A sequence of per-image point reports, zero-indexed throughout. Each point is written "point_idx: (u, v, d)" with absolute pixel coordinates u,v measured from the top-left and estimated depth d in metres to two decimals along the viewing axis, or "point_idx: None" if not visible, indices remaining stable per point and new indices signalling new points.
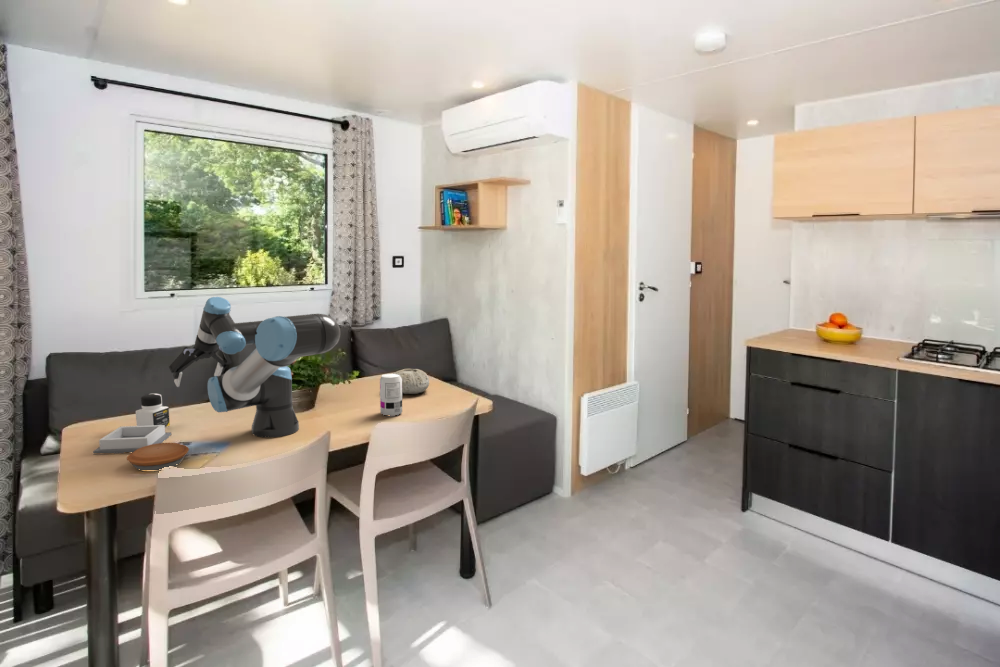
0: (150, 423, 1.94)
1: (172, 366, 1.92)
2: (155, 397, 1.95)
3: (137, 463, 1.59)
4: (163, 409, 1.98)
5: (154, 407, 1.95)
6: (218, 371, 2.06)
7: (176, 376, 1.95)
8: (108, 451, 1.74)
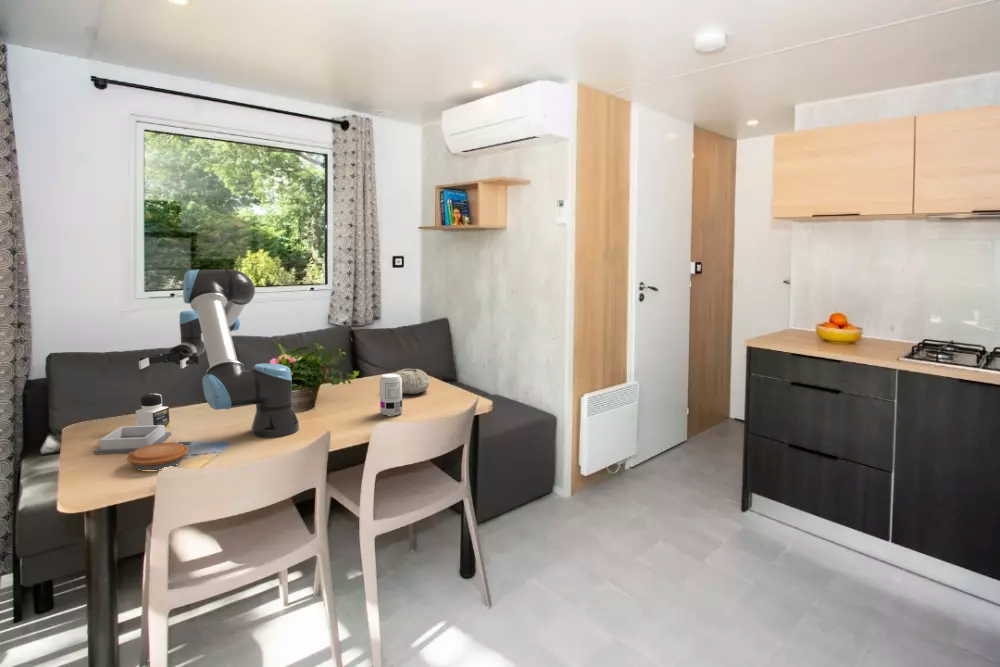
0: (150, 423, 1.94)
1: None
2: (155, 397, 1.95)
3: (137, 463, 1.59)
4: (163, 409, 1.98)
5: (154, 407, 1.95)
6: None
7: None
8: (108, 451, 1.74)
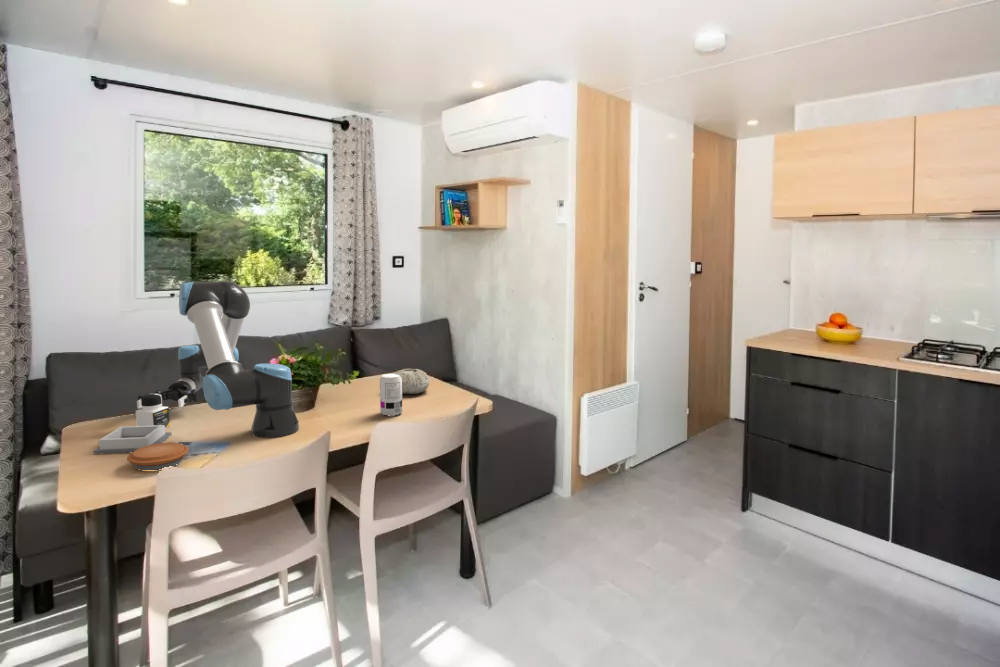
0: (150, 423, 1.94)
1: None
2: (155, 397, 1.95)
3: (137, 463, 1.59)
4: (163, 409, 1.98)
5: (154, 407, 1.95)
6: None
7: None
8: (108, 451, 1.74)
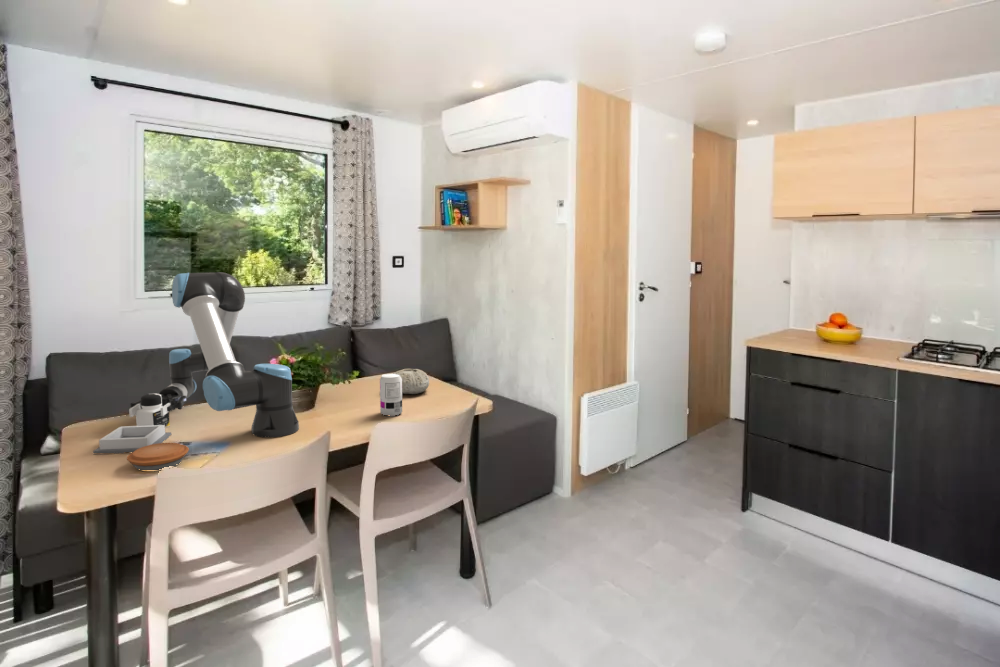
0: (150, 423, 1.94)
1: None
2: (155, 397, 1.95)
3: (137, 463, 1.59)
4: None
5: (154, 407, 1.95)
6: None
7: (133, 407, 1.96)
8: (108, 451, 1.74)
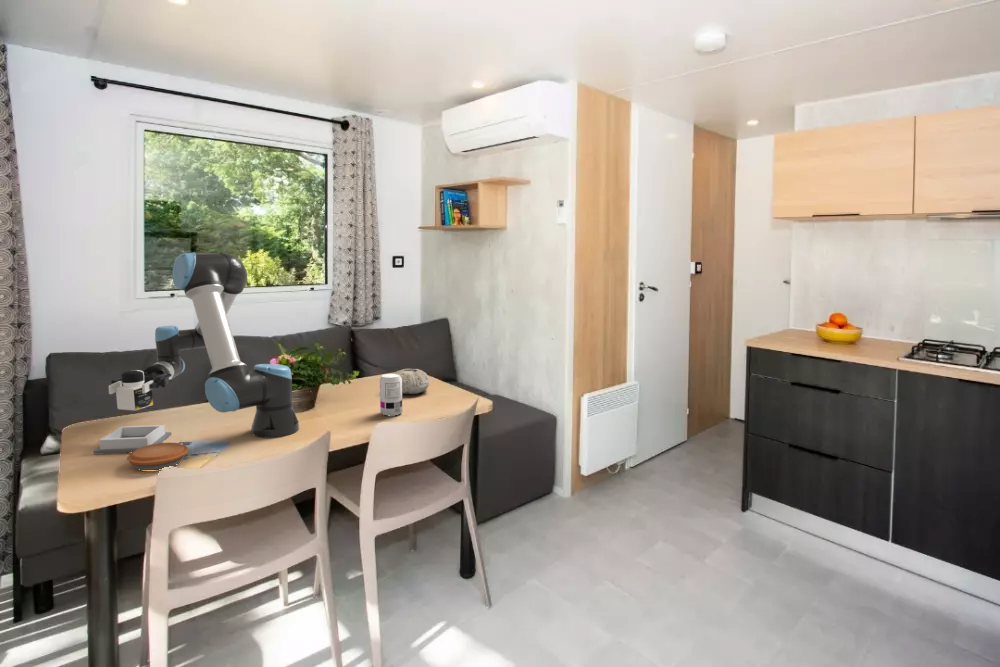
0: (131, 401, 1.82)
1: None
2: (136, 373, 1.83)
3: (137, 463, 1.59)
4: None
5: (135, 384, 1.83)
6: None
7: None
8: (108, 451, 1.74)
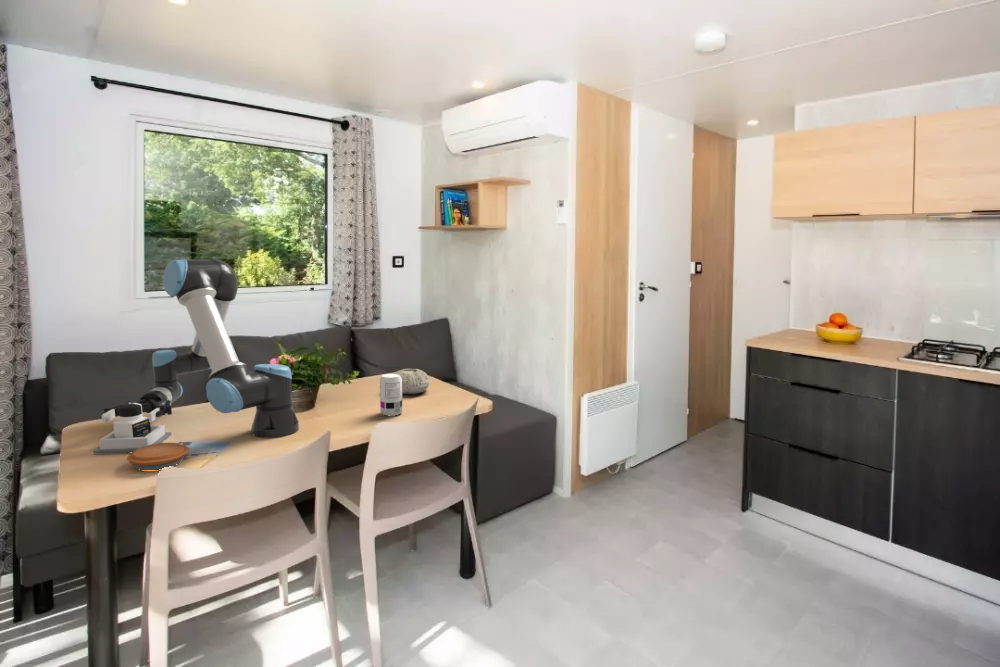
0: (129, 435, 1.78)
1: None
2: (134, 407, 1.79)
3: (137, 463, 1.59)
4: (144, 420, 1.82)
5: (133, 418, 1.79)
6: None
7: None
8: (108, 451, 1.74)
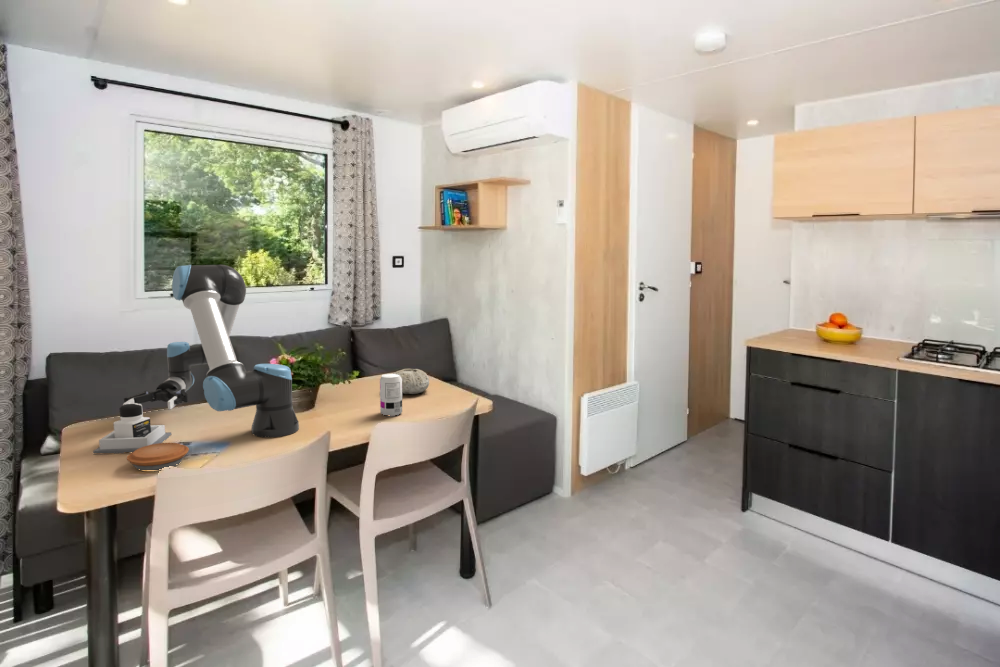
0: (129, 436, 1.78)
1: None
2: (135, 407, 1.79)
3: (137, 463, 1.59)
4: (144, 420, 1.82)
5: (134, 418, 1.79)
6: None
7: (127, 401, 1.94)
8: (108, 451, 1.74)
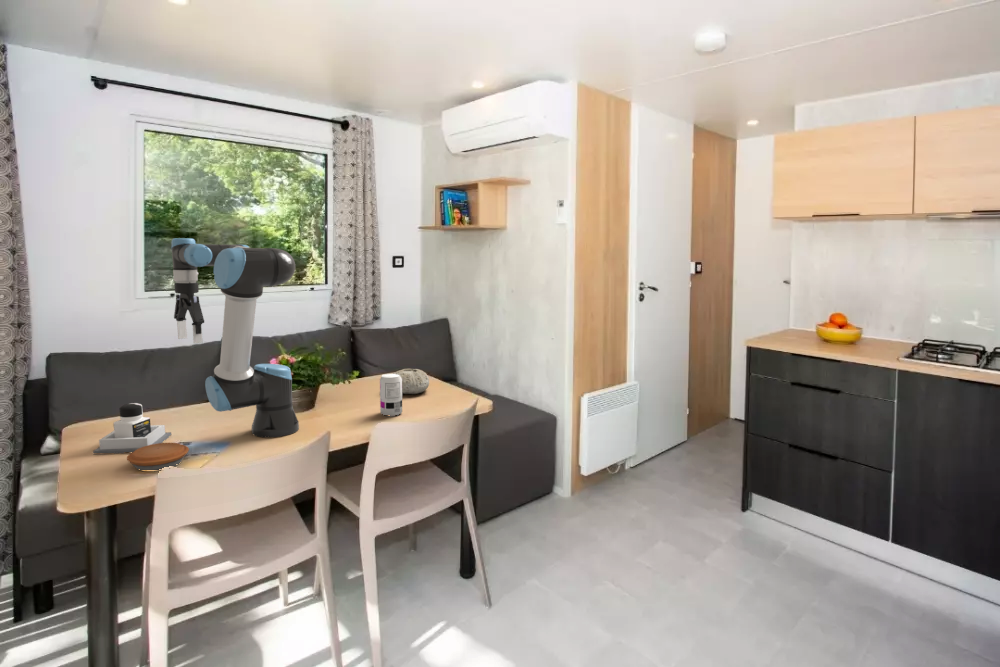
0: (129, 436, 1.78)
1: None
2: (135, 407, 1.79)
3: (137, 463, 1.59)
4: (144, 420, 1.82)
5: (134, 418, 1.79)
6: None
7: None
8: (108, 451, 1.74)
